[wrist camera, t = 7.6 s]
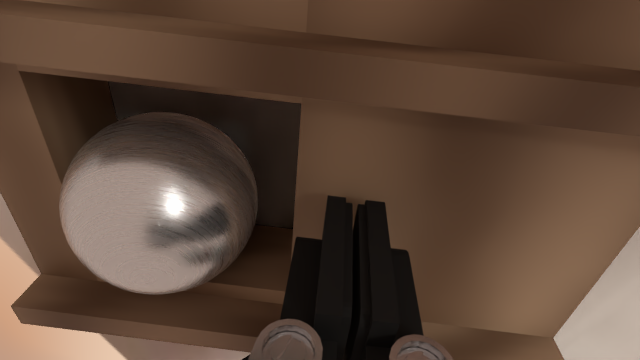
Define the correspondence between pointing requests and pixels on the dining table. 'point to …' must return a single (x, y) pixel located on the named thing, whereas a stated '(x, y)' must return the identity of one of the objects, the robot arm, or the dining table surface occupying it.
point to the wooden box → (352, 150)
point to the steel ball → (158, 203)
